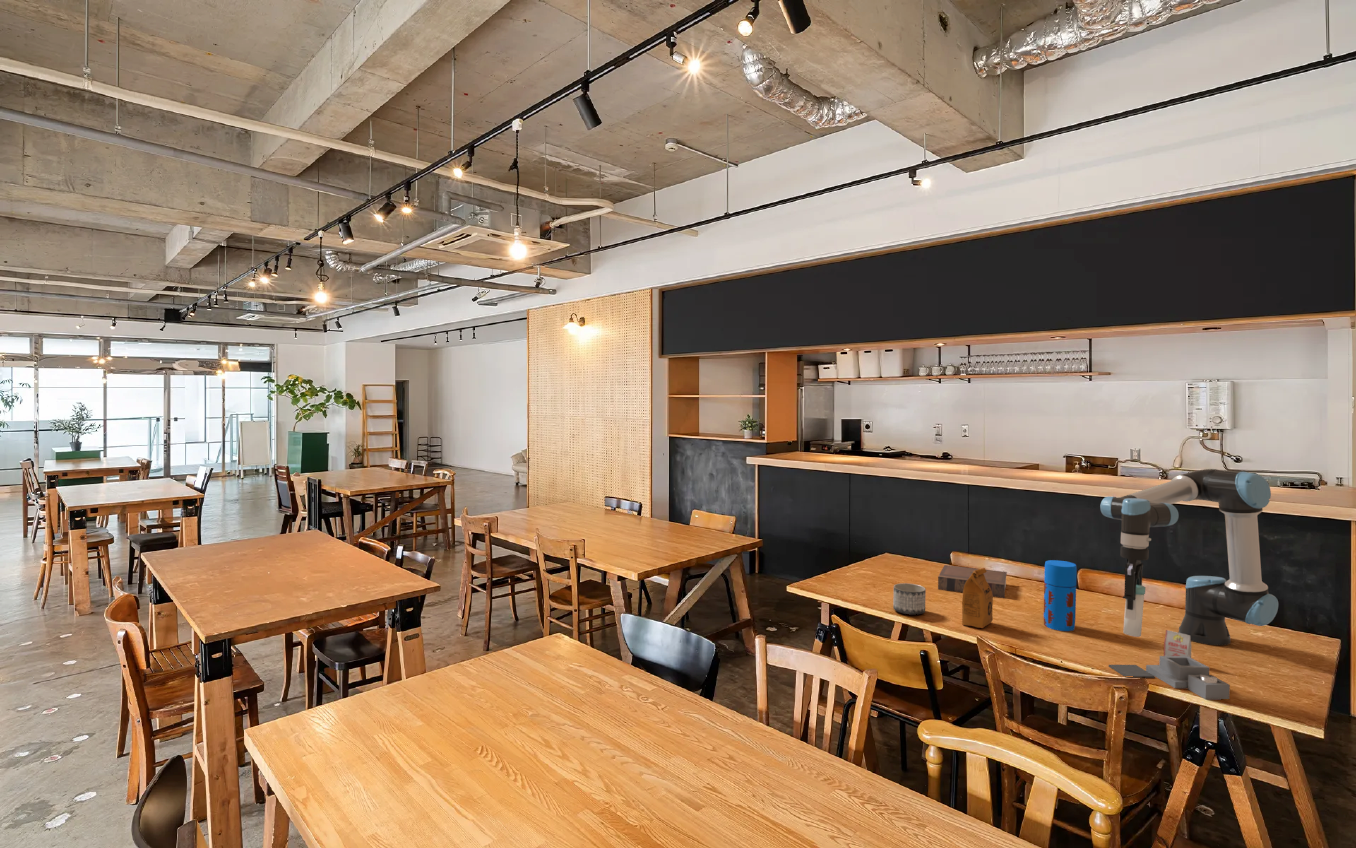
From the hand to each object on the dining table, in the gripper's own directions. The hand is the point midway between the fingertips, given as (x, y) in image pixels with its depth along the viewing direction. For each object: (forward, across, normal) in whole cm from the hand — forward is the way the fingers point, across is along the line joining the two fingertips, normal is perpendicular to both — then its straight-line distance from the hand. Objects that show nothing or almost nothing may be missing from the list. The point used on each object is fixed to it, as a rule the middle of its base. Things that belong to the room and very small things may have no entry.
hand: (1132, 616), depth 216 cm
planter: (+19, +6, +80) cm, 82 cm away
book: (+19, +62, +76) cm, 99 cm away
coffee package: (+19, +10, +53) cm, 57 cm away
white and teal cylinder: (+6, 0, 0) cm, 6 cm away
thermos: (+19, +31, +30) cm, 47 cm away
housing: (+18, +2, -16) cm, 24 cm away
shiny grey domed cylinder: (+18, -2, -20) cm, 27 cm away
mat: (+18, 0, 0) cm, 18 cm away
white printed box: (+19, +22, -9) cm, 30 cm away
